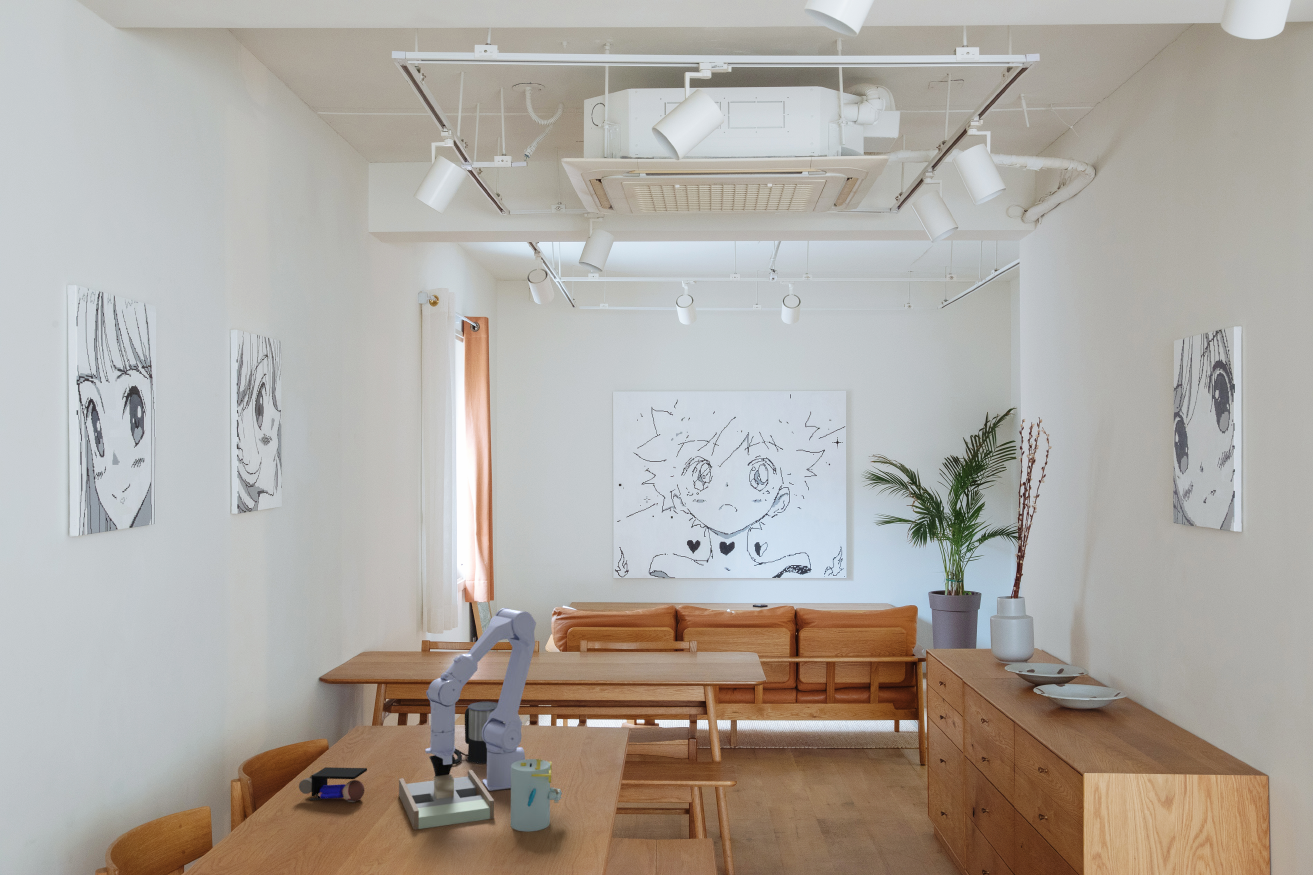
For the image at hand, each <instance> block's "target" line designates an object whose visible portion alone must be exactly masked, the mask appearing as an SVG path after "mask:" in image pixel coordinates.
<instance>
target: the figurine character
mask: <svg viewBox="0 0 1313 875" xmlns="http://www.w3.org/2000/svg"><path fill="white" fill-rule="evenodd" d="M367 771H368V768H367V767H330V766H329V767H324V768H322V769H320V770H319V771H317V772H315V773H314V772H313V774H311V775H310V776H309V777H306V778H304V779H302V780H300V782H299V783H298V789H299V791H300V792H301V793H302V794H304V795H308V794H310V793H311V798H309V799H308V800H309V801H321V800H324V799H325V800H327V799H342V798H343V799H344V800H346V801H347V802H349V803H355V802H358V801H360V800H361V799H362V798H363V796H364V794H365V786H364V784H363V782H362V781H360V780H358V779H357V778H359V777H360V776H361V775H363V774H364V773H366V772H367ZM328 779H329V780H350V781H348V782H346V783H342V784H341V783H340V784H328V781H329V780H328Z"/></svg>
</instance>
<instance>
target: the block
mask: <svg viewBox="0 0 1313 875" xmlns="http://www.w3.org/2000/svg"><path fill="white" fill-rule="evenodd" d="M453 778H454V777H453V775H452V774H449V775H442V776H435V775H434V777H433V781H434V794H435V796H436V798H437V799H439V798H447V797H454V779H453Z"/></svg>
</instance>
